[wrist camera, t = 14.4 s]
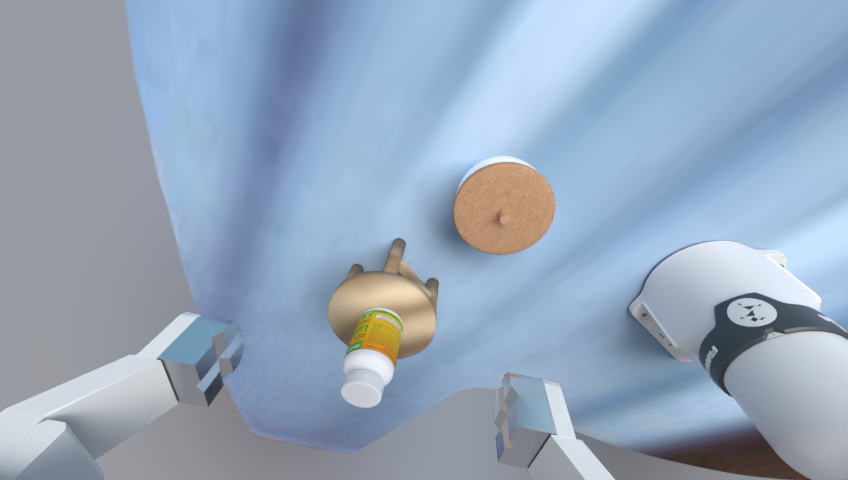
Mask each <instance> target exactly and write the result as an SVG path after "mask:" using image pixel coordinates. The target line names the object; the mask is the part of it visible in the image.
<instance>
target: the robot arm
mask: <svg viewBox="0 0 848 480" xmlns="http://www.w3.org/2000/svg"><path fill="white" fill-rule="evenodd" d="M786 266H787V258H786V256H785V255H783V254H782V253H781V252H780V251H777V250H765V249H761V250H757V249H753V248H750V247H748V246H745V245H743V244H740V243H736V242H730V241H712V242H705V243H700V244H696V245H693V246H690V247H687V248H685V249H683V250H680V251H678V252H676V253H675V254H673V255H671V256H670V257H668V258H667V259H665V260H664V261H663V262H661V263H660V264H659V265H658V266H657V267H656V268H655V269H654V270H653V271H652V273H651V274H650V275H649V277H648V278H647V280H646V282H645V285H644V287H643V290H642V292H641V294H640V295H639V296H638V297H637V298H636V299H635V300H634V301H633V302H632V303H631V305H630V306H629V311H630V312H631V314H632V315H633V316H634V317H635V318H636V319H637V320H638V321H639V322H640V323H641V324H642V325H643V326H644V327H645V328H646V329H647V330H648V331H649V332H650V333H651V334H652V335H653V336H654V337H655V338H656V339H657V340H658V341H659V342H660V343H661V344H662V345H663V346H664V347H665V348H666V349H667V350H668V351H669V352H670V353H671V354H672V355H673V357H674V358H675V359H677V360H678V361H679V362H693V363H694V364H695V365H696V366H697V367H698V368H699V369H700V370H701V371H702V372H703V373H704V374H705V375H706V376H707V377H710V378H711V379H712V380H713V381H714V383H715V384H716V385H717V386H718V387H720V388H721V389H722V390H723V391H724V392H725V393H726V394H728V395H729V396H731V397H733V398H734V399H735V401H736V402H737V403H738V405H739V406H740V407H741V408H742V410H743V411H744V412H745V414H746V415H747V416H748V417H749V419H750V420H751V421H752V423H753V424H754V425H755V426H756V428H757V429H758V430H759V431H760V433H761V434H762V435H763V437H764V438H765V439H766V440H767V442H768V443H769V444H770V446H771V447H772V448H773V449H774V451H775V452H776V453H777V454H778V456H779V457H780V458H782V459H783V460H784V461H785V462H786V463H787V464H788V465H789V466H791V467H792V468H793V469H795V470H796V471H798V472H799V473H801V474H802V475H804V476H806V477H808V478H809V479H811V480H848V333H846V331H845V330H844V329H843V328H842V327H841V326H840V325H838V324H837V323H836V322H834V321H833V320H831V319H829V318H828V317H826V316H824V315H823V314H822V313H820V308H821V307H820V302H821V299H820V297H819V296H818V295H817V294H816V293H814V292H813V291H812V290H811V289H809V288H808V287H807V286H806V285H804V284H803V283H802V282H801V281H799V280H798V279H797V278H796V277H794V276H793V275H792V274H790V273H789V272H788V271H787V270H786ZM643 313H644V314H643ZM240 331H241V329H240V326H239V323H238V322H233V321H229V320H224V319H219V318H215V317H210V316H206V315H201V314H196V313H191V312H185V313H183V314H180V315H179V316H178V317H177V318H176V319H175V320H174V321H173V322H171V323H170V324H169V325H168V326H167V327H166V328H165V329H164V330H163V331H162V332H161V333H160V334H159V335H157V336H156V337H155V338H154V339H153V340H152V341H151V342H150V343H149V344H148V345H147V346H146V347H145V348H144V349H142V350H141V351H140V352H139V353H138V354H137V355H132V354H131V355H128V356H126V357H124V358H121V359H119V360H117V361H115V362H112V363H110V364H108V365H105V366H103V367H101V368H99V369H96V370H94V371H91V372H89V373H87V374H85V375H83V376H80V377H78V378H75V379H73V380H71V381H69V382H66V383H64V384H62V385H59V386H57V387H55V388H52V389H50V390H48V391H46V392H43V393H41V394H39V395H36V396H34V397H32V398H29V399H27V400H25V401H23V402H20V403H18V404H16V405H13V406H11V407H9V408H7V409H5V410H4V411H2V412H1V413H0V480H104V472H103V471H102V470H101V468H100V467H99V466H98V464H97V463H96V462H95V460H96V459H97V458H99V457H100V456H102V455H103V454H105V453H106V452H108V451H109V450H110V449H112V448H113V447H115V446H116V445H118V444H119V443H121V442H122V441H124V440H125V439H127V438H128V437H130V436H131V435H133V434H134V433H136V432H137V431H139V430H140V429H142V428H143V427H145V426H146V425H148V424H149V423H150V422H152V421H153V420H155V419H156V418H158V417H159V416H161V415H162V414H164V413H165V412H167V411H168V410H170V409H171V408H173V407H174V406H176V405H177V404H178V402H182V403H188V404H195V405H202V406H207V407H209V405H210V404H211V402H212V401H213V400H214V398H215V397H216V395H217V394H218V393H219V391H220V390H221V389H222V387H223V386H224V383H223V378H224V377H226V376H227V375H229V374H231V373H233V372H234V370H235V369H236V367H237V366H238V364H239V362H240V360H241V358H242V355H243V350H244V345H243V340H242V339H241V338H240V337H239V336H238V334H239V332H240ZM502 383H503V387H501V388H500V389H498V391H497V393H496V396H495V401H494V422H495V424H496V425H497V426H498V428H499V432H498V434H497V436H496V447H497V457H498V462H499V463H504V464H508V465H513V466H517V467H522V468H526V469H528V472H529V474H530V476H531V478H532V479H533V480H615V479H614V478H613V477H612V476H611V475H610V473H609V472H608V471H607V470H606V468H605V467H604V466H603V465H602V464H601V463H600V461H599V460H598V459H597V458H596V457H595V455H594V454H593V453H592V452H591V451H590V449H589V448H588V447H587V446H586V445H585V443H584V442H583V441H582V440H578V439H576V436H575V433H574V429H573V426H572V423H571V419H570V416H569V413H568V409H567V406H566V403H565V400H564V396H563V393H562V390H561V386H560V385H559V383H558V382H554V381H548V380H543V379H539V378H534V377H529V376H523V375H517V374H511V373H506V374H505V375H504V377H503V379H502Z"/></svg>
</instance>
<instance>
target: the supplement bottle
mask: <svg viewBox="0 0 848 480" xmlns="http://www.w3.org/2000/svg"><path fill="white" fill-rule="evenodd" d="M402 333H403V322H402V320H401V318H400V317H399V316H398V314H396V313H395V312H393V311H392V310H389V309H387V308H381V307H375V308H371V309H368V310H366V311H365V312H364V313H363V314H362V316H361V317H360V320H359V322H358V325H357V328H356V330H355V333H354V335H353V338H352V340H351V343H350V346H349V348H348V351H347V354H346V356H345V359H344V362H343V373H344V375H345V379H344V382H343V385H342V388H341V395H342V397H343V398H344V399H345V400H346V401H347V402H348V403H350V404H352V405H354V406H357V407H362V408H369V407H374V406H376V405H377V404H379V402H380V401H381V398H382V394H383V390H384V386H386V385H387V384H389V382H390V381H391V380H392V377H393V374H394V370H395V366H396V361H397V356H398V351H399V347H400V342H401V338H402Z"/></svg>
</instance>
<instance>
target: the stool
mask: <svg viewBox="0 0 848 480" xmlns="http://www.w3.org/2000/svg"><path fill="white" fill-rule="evenodd" d="M405 245H406V243H405V241H404V240H403V239H401V238H397V239H395V240H394V242H393V245H392V248H391V250H390V253H389V256H388V259H387V262H386V264H385V267H384V270H383V271H369V272H363V267H362V266H361V265H359V264H354V265H353V266H352V268H351V270H350V272H349V274H348V276H347V278H346V279H345V281H343V282H342V283H341V284H340V285H339V286H338V288H337V289H336V291H335V293H334V295H333V296H332V298H331V300H330V303H329V306H328V318H329V322H330V325H331V327H332V329H333V331H334V332H335V334H336V335H337V336H338V337H339V338H340V339H341V340H342V341H343V342H344V343H345V344H346V345H347V346H350V343H351V340H352V338H353V335H354V333H355V330H356V328H357V325H358V322H359V320H360V317H361V316H362V314H363V313H364V312H365V311H366V310H368V309H371V308H375V307H381V308H387V309H389V310H392V311H393V312H395V313H396V314H398V316H399V317H400V318H401V320H402V322H403V333H402V338H401V342H400V347H399V351H398V356H397V359H402V358H407V357H410V356H413V355H415V354H417V353H419V352H421V351H422V350H424V349H425V348H426V347H427V346H428V345H429V343H430V342H431V341H432V339H433V337H434V334H435V329H436V305H437V295H438V285H439V282H438V280H437V279H435V278H430V279H429V280H428V281H427V286H425V285H424V284H423V283H422V282H421V280H420V279H419V278H418V277H417V276H416V275H415V274H414V272H413V271H412V270H411V269H410V268H409V267H408V265H407V264H406V263H405V262H404V261H403V260H402V256H403V252H404V249H405ZM362 272H363V273H362ZM398 272H399V273H400V274H401V275H402V276H400V275H397V273H398Z"/></svg>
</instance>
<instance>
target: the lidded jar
mask: <svg viewBox="0 0 848 480" xmlns="http://www.w3.org/2000/svg"><path fill="white" fill-rule="evenodd" d="M554 213H555V199H554V195H553V192H552V190H551V187H550V185H549V184H548V182H547V181H546V180H545V178H544V177H543V176H542V175H541V174H540V173H539V172H538V171H537V170H536V169H535V168H534V167H533V166H531V165H530V164H528V163H527V162H525V161H523V160H521V159H518V158H515V157H511V156H495V157H490V158H487V159H484V160H482V161H480V162H479V163H477V164H475V165H474V166H473V167H472V168H471V169H470V170H469V171H468V172H467V173H466V174H465V175H464V177H463V178H462V180H461V182H460V184H459V186H458V188H457V192H456V196H455V200H454V205H453V219H454V223H455V226H456V229H457V231H458V233H459V234H460V236H461V237H462V238H463V239H464V240H465V241H466V242H467V243H468V244H469V245H470V246H472V247H474V248H475V249H477V250H480V251H482V252H485V253H489V254H497V255H501V254H511V253H515V252H519V251H522V250H524V249H526V248H528V247H530V246H531V245H533V244H535V243H536V242H537V241H538V240H540V239H541V237H542V236H543V235H544V234H545V233H546V231H547V230H548V229H549V227H550V225H551V223H552V221H553V217H554Z"/></svg>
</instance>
